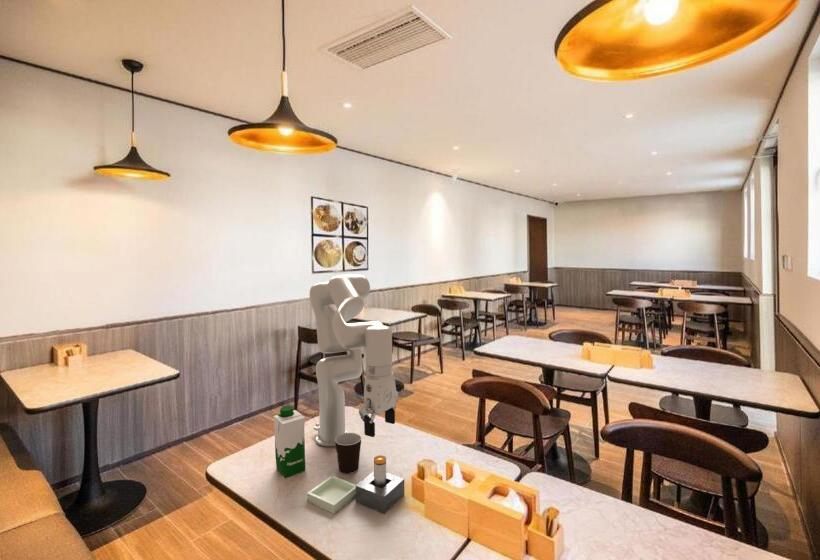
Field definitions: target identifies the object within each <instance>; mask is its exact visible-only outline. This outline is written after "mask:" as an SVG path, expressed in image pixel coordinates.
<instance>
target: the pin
mask: <svg viewBox="0 0 820 560" xmlns="http://www.w3.org/2000/svg"><path fill="white" fill-rule="evenodd" d="M373 471H374V486H376V487H379V488H384V487H385V486H386V472H387V456H385V455H376V456H374V458H373Z"/></svg>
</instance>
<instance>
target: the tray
mask: <svg viewBox="0 0 820 560" xmlns="http://www.w3.org/2000/svg"><path fill="white" fill-rule="evenodd" d="M356 485H357V484H355V483H353V482H351V481H350V482H349V481H347V480H345V479H342V478H339V477H337V476H335V475H331V476H329V477H327V478H326V479H325V480H323V481H322V482H321V483H319V484H317V485H316V486H314V488H312V489H310V490H309V491H308V492H306V502H307V503H308V504H309V503H310V504H312V505H314V506H315V507H316V506H317V507H318V508H321V509H322V510H325V511H327V512H329V513H331V514H334V515H335V514H336V513H337V512H339V511H340V510H341V509H342V508H343V507H344V506H346V505H348V503H350V502H351V501H352V500H353V499H354V498H356Z"/></svg>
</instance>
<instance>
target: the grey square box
mask: <svg viewBox="0 0 820 560" xmlns="http://www.w3.org/2000/svg"><path fill="white" fill-rule="evenodd" d="M355 485H356V497H355V503H357V504H359V505H362V506H364V507H366V508H369V509H370V510H374V511H375V512H378V513H380V514H384V515H386V514H387V513H388V512H389V511H390V510H391V509H392V508H393V507H395V505H396V504H397V503H398V502H399V501H400V500H401V499H402V498H403V497H404V496H405V478H404V477H401V476H398V475H395V474H392V473H390V472H387V471H386V486H385V487H384V488H379V487H376V486H374V470H373V471H372V472H371V473H369V474H368V475H367V476H366V477H365V478H363V479H362V480H361V481H359V482H358V483H357V484H355Z"/></svg>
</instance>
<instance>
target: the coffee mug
mask: <svg viewBox="0 0 820 560" xmlns="http://www.w3.org/2000/svg"><path fill="white" fill-rule="evenodd" d="M361 445H362V436H361V435H360V434H358V433H355V432H348V433H344V434H341V435H339V436H337V437H336V438H335V446H334V447H335V451H336V458H337V465H338V466H337V467H338V471H339V472H340V473H342V474H346V475H348V474H354V473H355V472H357V471H358V470H359V463H360V455H361V454H360V453H361Z"/></svg>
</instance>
